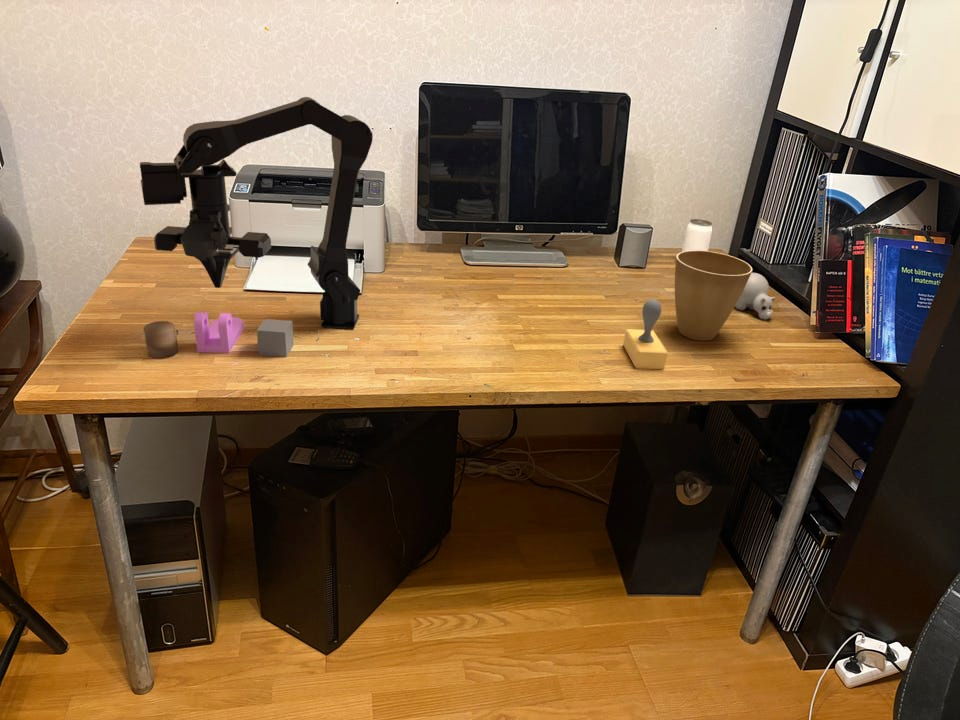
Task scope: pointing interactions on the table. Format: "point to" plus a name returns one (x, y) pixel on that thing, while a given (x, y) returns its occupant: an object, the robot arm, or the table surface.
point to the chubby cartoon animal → (756, 296)
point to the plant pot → (707, 291)
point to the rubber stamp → (646, 340)
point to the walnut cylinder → (161, 339)
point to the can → (697, 235)
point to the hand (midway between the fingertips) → (218, 287)
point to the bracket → (217, 332)
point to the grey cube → (275, 338)
